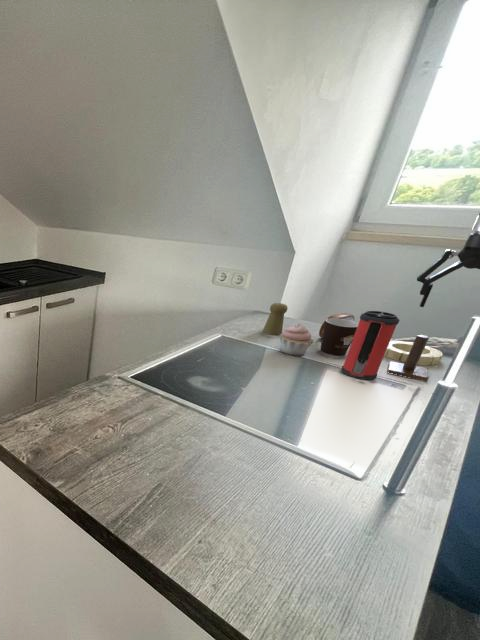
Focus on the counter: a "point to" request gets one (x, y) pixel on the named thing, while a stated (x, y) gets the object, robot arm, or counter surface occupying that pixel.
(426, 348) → the tape
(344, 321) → the coffee mug
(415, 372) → the peg stand
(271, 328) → the cork
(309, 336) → the cupcake
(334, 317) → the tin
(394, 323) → the speaker
